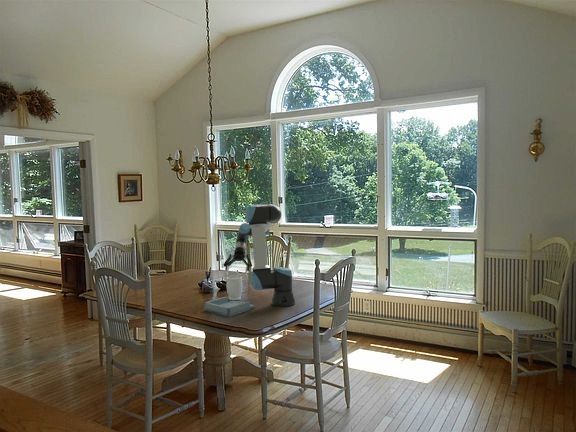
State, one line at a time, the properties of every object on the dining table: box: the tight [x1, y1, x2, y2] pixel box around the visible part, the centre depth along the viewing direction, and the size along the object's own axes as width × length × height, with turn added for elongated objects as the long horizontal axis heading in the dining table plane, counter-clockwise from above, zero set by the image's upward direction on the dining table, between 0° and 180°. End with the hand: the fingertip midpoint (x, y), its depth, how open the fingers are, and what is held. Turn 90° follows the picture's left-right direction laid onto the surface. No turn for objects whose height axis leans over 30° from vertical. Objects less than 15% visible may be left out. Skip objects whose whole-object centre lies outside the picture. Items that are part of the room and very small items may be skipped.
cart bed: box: [203, 296, 255, 318], centre depth 271 cm, size 22×23×5 cm
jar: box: [225, 275, 243, 301], centre depth 295 cm, size 11×10×15 cm
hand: (236, 274), depth 303 cm, fingers open, 13 cm apart
